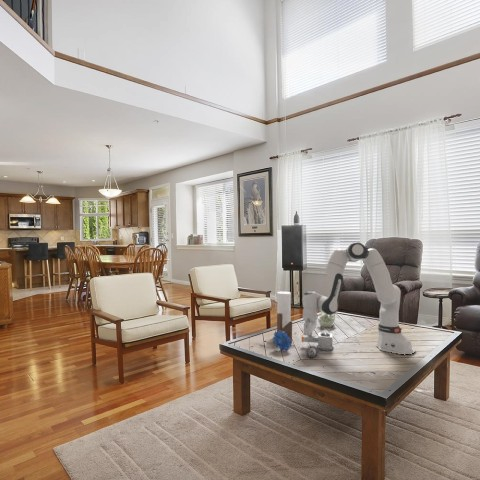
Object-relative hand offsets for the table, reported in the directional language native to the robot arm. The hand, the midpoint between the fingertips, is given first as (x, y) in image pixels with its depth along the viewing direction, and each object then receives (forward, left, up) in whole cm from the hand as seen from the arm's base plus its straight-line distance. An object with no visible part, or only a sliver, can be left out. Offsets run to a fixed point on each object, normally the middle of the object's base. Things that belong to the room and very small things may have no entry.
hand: (310, 338), depth 222 cm
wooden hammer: (+16, +7, -5) cm, 18 cm away
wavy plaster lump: (+24, -49, -5) cm, 55 cm away
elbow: (-5, -1, -3) cm, 6 cm away
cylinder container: (+28, -5, -5) cm, 29 cm away
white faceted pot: (-9, -4, -5) cm, 11 cm away
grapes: (+4, +21, -5) cm, 22 cm away
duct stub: (-14, +14, -5) cm, 20 cm away
